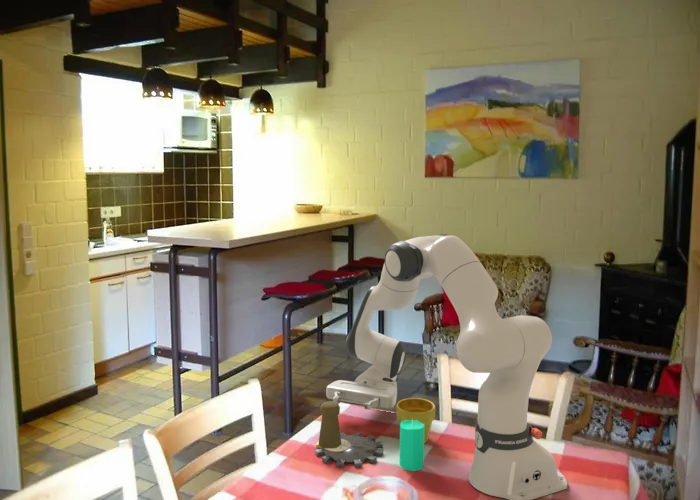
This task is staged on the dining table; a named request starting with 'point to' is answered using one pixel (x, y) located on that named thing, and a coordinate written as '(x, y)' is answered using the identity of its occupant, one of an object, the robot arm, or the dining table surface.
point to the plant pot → (417, 412)
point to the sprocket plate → (352, 450)
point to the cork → (329, 425)
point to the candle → (411, 445)
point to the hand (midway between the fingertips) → (350, 404)
